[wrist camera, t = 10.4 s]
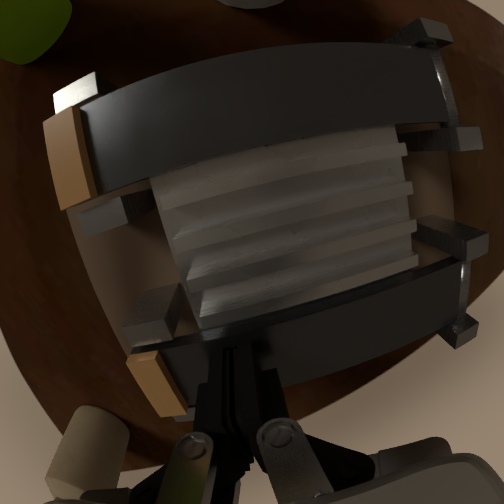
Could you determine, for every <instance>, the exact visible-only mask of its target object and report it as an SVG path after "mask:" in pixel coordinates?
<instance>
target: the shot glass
mask: <svg viewBox="0 0 504 504" xmlns="http://www.w3.org/2000/svg"><path fill="white" fill-rule="evenodd" d="M217 1H219V2H221V3H223V4H225V5H227V6H232V7H238V8H244V9H255V8H267V7H270V6H273V5H276V4H279V3H282V2H283V1H284V0H217Z"/></svg>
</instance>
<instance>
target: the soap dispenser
mask: <svg viewBox="0 0 504 504" xmlns="http://www.w3.org/2000/svg"><path fill="white" fill-rule="evenodd" d="M71 13H72V4H71V2H70V0H0V58H2V59H5V60H8V61H10V62H13V63H15V64H19V65H23V64H27V63H30V62H32V61H34V60H36V59H37V58H39V57H40V56H41V55H43V54H44V53H45V52H46V51H47V50H48V49H49V48H50V47H51V46H52V45H53V44H54V43H55V42H56V41H57V39H58V38H59V37H60V35H61V34H62V33H63V31H64V29H65V28H66V26H67V24H68V22H69V20H70V17H71Z"/></svg>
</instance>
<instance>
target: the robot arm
mask: <svg viewBox="0 0 504 504" xmlns="http://www.w3.org/2000/svg"><path fill="white" fill-rule="evenodd" d="M233 359H234V360H233ZM254 457H255V459H256V460H257V462H258V464H259V466H260V467H261V469H262V471H263V472H265V473H267V474H268V476H269V479H270V482H271V485H272V488H273V490H274V493H275V496H276V499H277V501H278V504H504V482H503V481H502V480H501V478H500V477H499V476H498V475H497V473H496V472H495V471H494V470H493V468H492V467H491V466H490V465H489V464H488V463H487V462H486V461H485V460H483V459H482V458H481V457H479V456H477V455H474V454H471V453H456V454H452V451H451V448H450V445H449V443H448V442H447V441H446V440H445V439H443V438H441V437H430V438H427V439H424V440H420V441H417V442H413V443H409V444H406V445H402V446H398V447H394V448H389V449H385V450H380V451H379V452H378V453H376V454H371V455H366V454H364V453H361V452H357V451H354V450H351V449H347V448H344V447H341V446H338V445H335V444H332V443H329V442H326V441H324V440H321V439H318V438H315V437H313V436H310V435H307V434H305V433H304V432H303V430H302V428H301V426H300V425H299V424H298V423H297V422H296V421H294V420H293V419H289V414H288V410H287V406H286V402H285V397H284V393H283V389H282V385H281V382H280V378H279V374H278V371H277V368H273V369H269V370H265V371H260V368H259V365H258V361H257V358H256V355H255V352H254V349H253V346H252V343H251V342H247V343H243V344H238V348H236V349H233V357H232V354H231V352H230V350H227V351H225V349H224V348H220V349H215V350H211V351H210V358H209V369H208V381H207V382H206V383H200V384H199V385H198V389H197V398H196V406H195V415H194V425H193V432H190V433H187V434H185V435H183V436H182V437H180V438H179V439H178V440H177V441H176V442H175V444H174V446H173V449H172V452H171V455H170V458H169V462H168V463H166V464H165V465H164V466H162V467H161V468H160V469H159V470H157V471H156V472H154V473H153V474H151V475H150V476H149V477H147V478H146V479H144V480H143V481H142V482H140V483H139V484H137V485H136V486H135V487H134V488H133V489H129V488H128V487H126V488H115V489H100V490H88V491H85V492H84V493H82V495H81V496H80V498H79V500H77V499H60V500H53V501H50V502H47V503H44V504H238V501H239V493H240V486H241V483H240V478H242V477H243V476H244V475H245V471H250V464H251V463H254Z"/></svg>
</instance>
